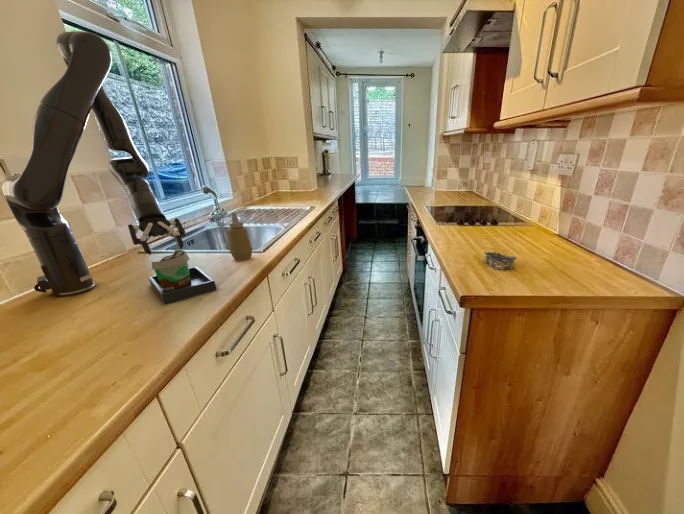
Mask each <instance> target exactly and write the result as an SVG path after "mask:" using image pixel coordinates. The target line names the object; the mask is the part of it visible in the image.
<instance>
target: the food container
mask: <svg viewBox="0 0 684 514" xmlns="http://www.w3.org/2000/svg"><path fill="white" fill-rule="evenodd" d="M189 260H190V257H189V255H188V253H187V252H186V251H185V250H184V249H183V250H182V249H174V253H172V254H169V255H167V256H164V257H163V258H162V259H160V260H157V261H151V270H153V271H154V272H155V275H157V277H158V280H159V282H160V285H161V287H162V290H163V292H164V293H166V292H169V291H173V290H177V289H181V288H185V287H189V286H190V285H191V279H190V273H189V268H190V267H189V263H188V262H189Z"/></svg>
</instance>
